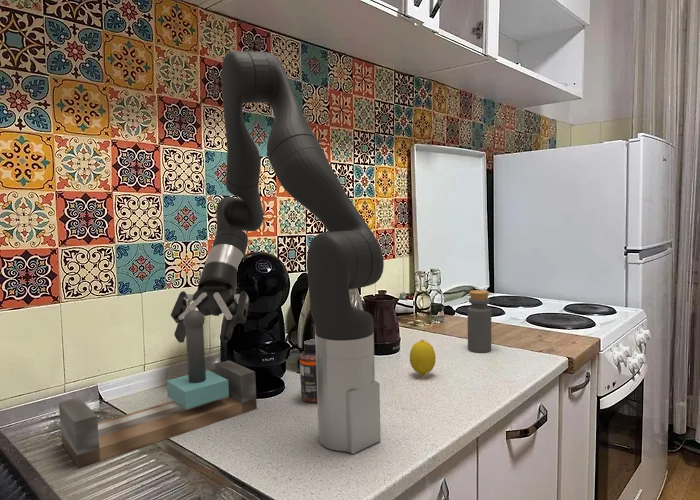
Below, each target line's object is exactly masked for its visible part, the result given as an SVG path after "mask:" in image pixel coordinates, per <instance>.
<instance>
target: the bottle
mask: <svg viewBox="0 0 700 500" xmlns="http://www.w3.org/2000/svg"><path fill="white" fill-rule="evenodd" d="M489 293H490V291H488V290H484V289H479V290H478V289H477V290H475V289H473V290H470V291H469V294H470V295H469V296H470V297H469V298H468V303H469V304H470V305H471V306H469V307H468V308H467V349H468V351H469V352H472V353H477V354H484V353H490V352H491V351H492V308H491V307H489V306H488V304H490V303H491V302H490V301H491V299H490V298H489V295H490V294H489Z"/></svg>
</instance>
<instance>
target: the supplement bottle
mask: <svg viewBox="0 0 700 500" xmlns="http://www.w3.org/2000/svg"><path fill="white" fill-rule="evenodd" d="M299 375H300V379H299V381H300V395H301V399H302V400H303V401H305V402H308V403H317V373H316V340H315V339H310V340H306V341H304V351H302V352H301V353H300V354H299Z"/></svg>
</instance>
